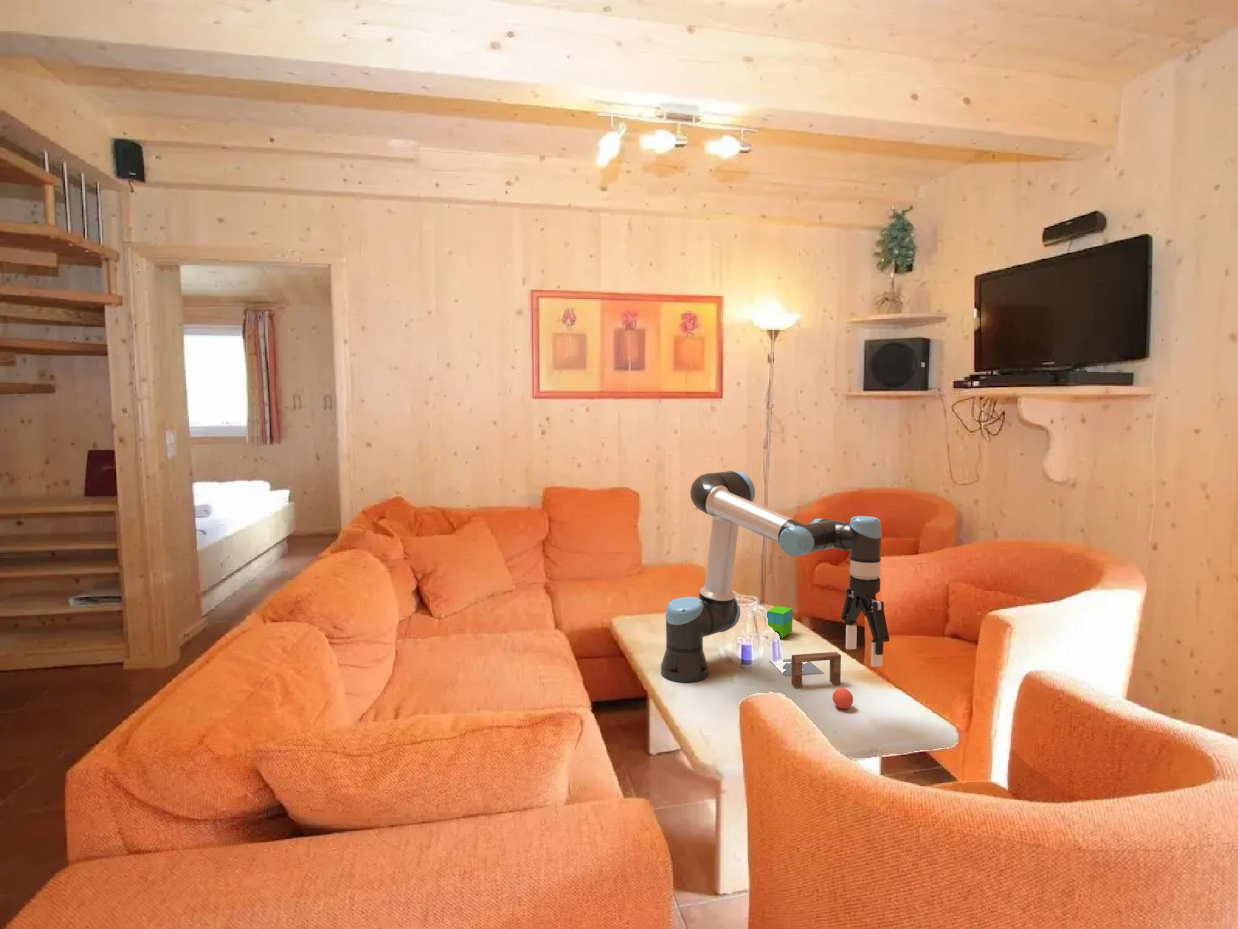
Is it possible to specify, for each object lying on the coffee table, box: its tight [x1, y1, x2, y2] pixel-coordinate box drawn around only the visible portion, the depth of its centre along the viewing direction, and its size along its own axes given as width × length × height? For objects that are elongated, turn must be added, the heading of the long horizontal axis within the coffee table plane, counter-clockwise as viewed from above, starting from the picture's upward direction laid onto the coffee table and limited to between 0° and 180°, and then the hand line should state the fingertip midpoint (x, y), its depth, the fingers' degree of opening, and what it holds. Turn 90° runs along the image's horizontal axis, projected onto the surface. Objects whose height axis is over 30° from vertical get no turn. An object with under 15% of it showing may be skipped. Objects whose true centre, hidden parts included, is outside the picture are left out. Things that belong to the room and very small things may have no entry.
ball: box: [832, 687, 854, 710], centre depth 180 cm, size 6×6×6 cm
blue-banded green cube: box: [766, 605, 793, 639], centre depth 242 cm, size 10×13×10 cm
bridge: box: [790, 651, 842, 689], centre depth 196 cm, size 3×14×9 cm, turn 100°
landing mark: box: [782, 658, 825, 677], centre depth 210 cm, size 13×13×1 cm
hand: (863, 657), depth 169 cm, fingers open, 12 cm apart
